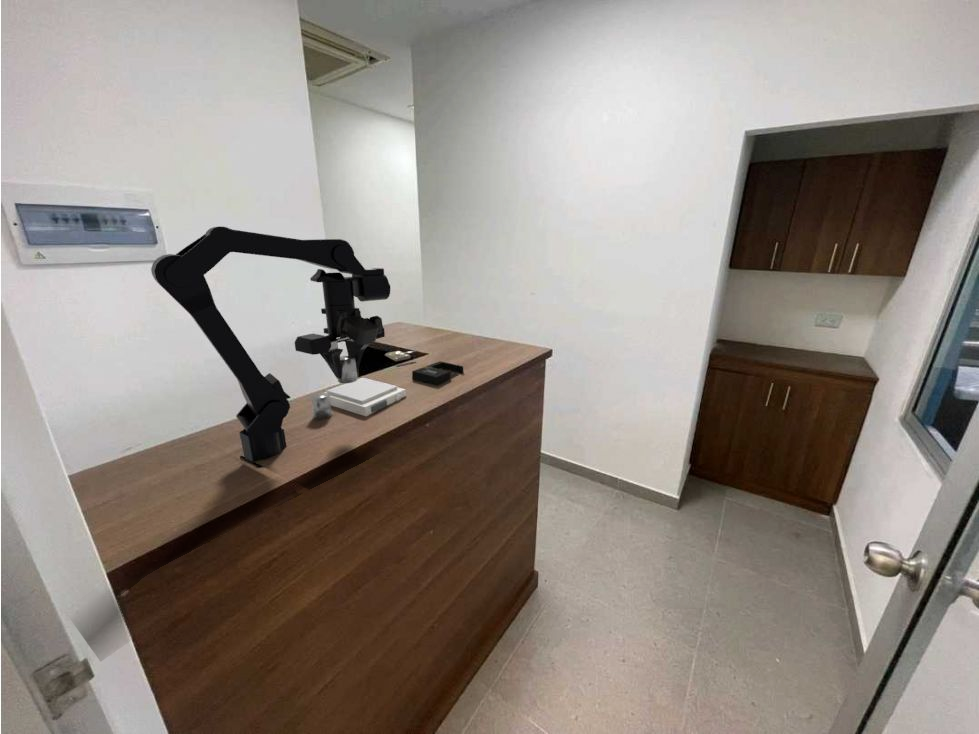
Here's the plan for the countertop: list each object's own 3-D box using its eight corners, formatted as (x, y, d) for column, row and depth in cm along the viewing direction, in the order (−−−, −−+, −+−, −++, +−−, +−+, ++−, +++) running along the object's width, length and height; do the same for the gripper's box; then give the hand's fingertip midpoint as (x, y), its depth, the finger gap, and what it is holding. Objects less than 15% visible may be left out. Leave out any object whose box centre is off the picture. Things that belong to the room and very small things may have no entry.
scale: (367, 416, 91) (366, 404, 90) (321, 402, 99) (320, 390, 98) (407, 398, 102) (406, 386, 101) (363, 386, 110) (362, 375, 109)
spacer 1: (321, 420, 89) (318, 400, 87) (310, 416, 90) (307, 397, 89) (335, 414, 92) (333, 395, 90) (324, 410, 94) (322, 391, 92)
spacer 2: (346, 384, 81) (344, 361, 79) (333, 381, 82) (331, 358, 81) (361, 379, 84) (359, 357, 82) (348, 376, 86) (346, 354, 84)
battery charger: (436, 390, 109) (436, 377, 108) (412, 383, 114) (411, 371, 113) (463, 378, 120) (463, 366, 118) (440, 372, 124) (439, 360, 123)
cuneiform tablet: (396, 355, 126) (382, 348, 135) (398, 368, 127) (383, 360, 136) (416, 351, 130) (400, 344, 139) (417, 363, 131) (401, 356, 140)
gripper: (326, 313, 67) (336, 396, 71) (401, 301, 82) (404, 370, 87) (287, 308, 72) (299, 385, 77) (364, 297, 87) (369, 362, 92)
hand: (347, 375), depth 83 cm, fingers closed on spacer 2, 4 cm apart
